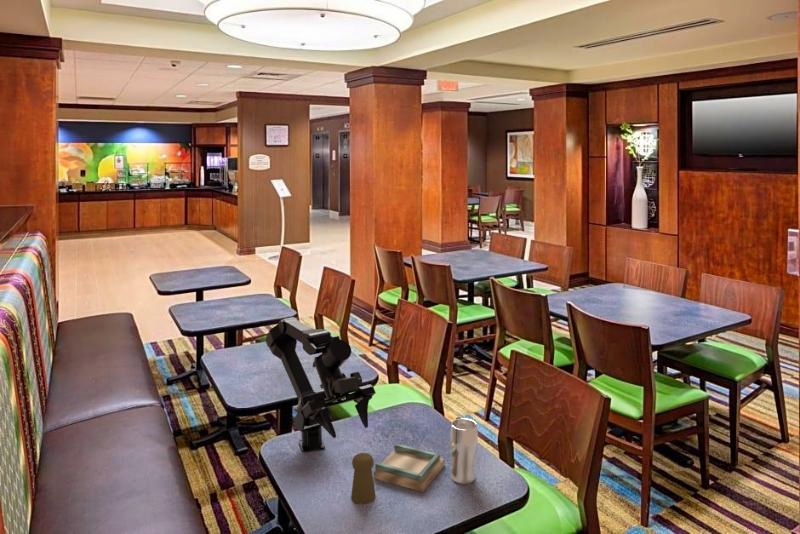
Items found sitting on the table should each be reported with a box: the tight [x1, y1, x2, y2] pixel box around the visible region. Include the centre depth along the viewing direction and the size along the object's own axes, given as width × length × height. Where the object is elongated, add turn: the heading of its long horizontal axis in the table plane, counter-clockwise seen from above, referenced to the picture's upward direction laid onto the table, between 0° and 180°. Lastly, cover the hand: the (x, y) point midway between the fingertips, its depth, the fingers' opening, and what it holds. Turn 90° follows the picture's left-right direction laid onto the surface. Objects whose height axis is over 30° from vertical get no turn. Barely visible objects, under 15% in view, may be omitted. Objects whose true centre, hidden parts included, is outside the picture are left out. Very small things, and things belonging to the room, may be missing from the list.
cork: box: [350, 452, 377, 505], centre depth 144 cm, size 6×6×11 cm
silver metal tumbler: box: [449, 417, 479, 485], centre depth 152 cm, size 7×7×15 cm
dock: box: [373, 443, 445, 493], centre depth 156 cm, size 14×14×4 cm
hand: (351, 432), depth 149 cm, fingers open, 9 cm apart
